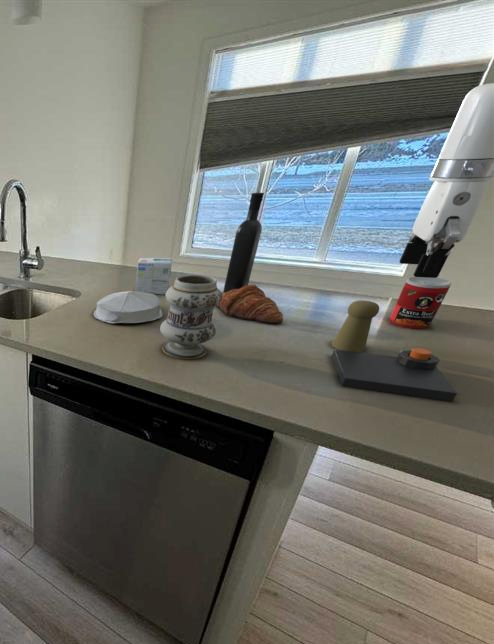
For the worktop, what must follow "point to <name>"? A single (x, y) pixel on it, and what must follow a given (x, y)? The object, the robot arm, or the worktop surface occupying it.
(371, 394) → the worktop surface
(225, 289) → the wine bottle
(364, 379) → the scale
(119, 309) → the food container
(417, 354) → the button
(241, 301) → the pastry
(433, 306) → the canned food
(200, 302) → the apothecary jar
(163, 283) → the light bulb box
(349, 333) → the cork
